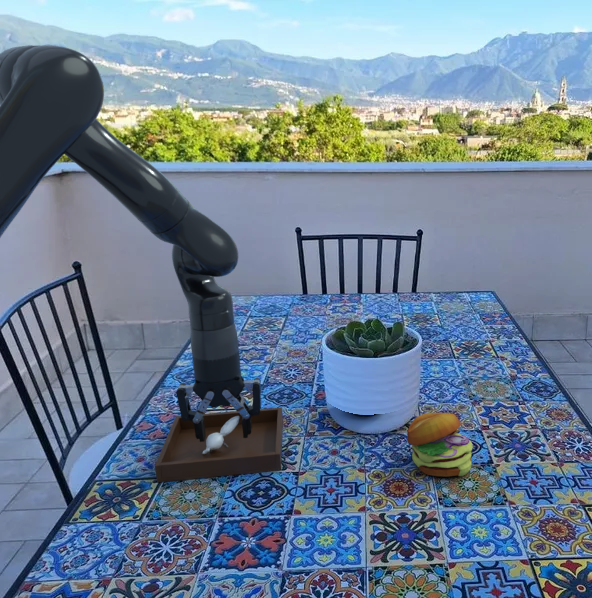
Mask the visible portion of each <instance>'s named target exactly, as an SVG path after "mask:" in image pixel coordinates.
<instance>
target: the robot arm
mask: <svg viewBox="0 0 592 598" xmlns="http://www.w3.org/2000/svg"><path fill="white" fill-rule="evenodd" d="M104 98H105V87H104V81H103V78H102V75H101V72H100V71H99V69H98V67H97V66H96V65H95V63H94V62H93V61H92V60H91V59H90V58H89V57H87V56H86V54H83V53H82V52H80V51H77V50H76V49H72V48H69V47H66V46H59V45H52V44H42V45H21V46H20V45H19V46H14V47H10V48H7V49H5V50H3V51H1V52H0V239H1V238H2V236H3V235H4V233H5V232H6V231H7V229H8V228H9V226H10V225H11V224H12V222H13V221H14V220H15V218H16V217H17V216H18V214H19V213H20V212H21V210H22V208H23V207H24V206H25V205H26V203H27V201H29V198H30V197H31V196H32V194H33V193H34V191H35V190H36V189H37V187H38V186H39V184H40V183H41V181H42V180H43V179H44V177H45V176H46V175H47V174H48V173H49V172H50V170H51V169H52V168H53V167H54V166H55V164H57V163H58V161H59V160H61V158H62V157H63V156H66V157H67V158H68V159H70V160H71V161H72V162H73V163H74V164H76V165H77V166H78V167H79V168H81V169H82V170H83V171H84V172H85V173H87V175H89V176H90V177H91V178H93V179H94V180H95V181H96V182H97V183H98V184H99V185H100V186H101V187H103V188H104V189H105V190H106V191H107V192H108V193H109V194H111V195H112V196H113V197H114V198H115V199H116V200H117V201H118V202H119V203H120V204H121V205H122V206H123V207H124V208H125V209H126V210H127V211H129V213H131V215H132V216H133V217H135V219H136V220H137V221H138V222H139V223H141V224H142V225H143V226H144V227H145V228H146V229H147V230H148V231H149V232H150V233H151V234H152V235H153V236H154V237H156V238H157V239H159V240H160V241H162V242H165V243H166V244H171V245H172V248H171V261H172V266H173V269H174V273H175V275H176V278H177V280H178V283H179V285H180V288H181V291H182V293H183V295H184V298H185V300H186V302H187V307H188V309H187V310H188V320H189V327H190V337H189V338H190V339H189V340H190V349H191V358H192V365H193V366H192V367H193V374H194V382H193V383H194V384H186V383H183V382H181V383H180V384H178V385H179V386H178V387H177V389H176V392H175V393H176V399H177V403H178V408H179V413H180V416H181V418H182V420H183V421H187V420H189V421H192V422H193V423H194V428H195V437H196V438H197V439H200V442H204V441H205V438H206V432H205V423H204V417H203V415H204V414H206V411H207V410H208V408H209V407H210V408H218V407H230V406H232V408H233V409H234V411H238V412H239V413H240V415H241V416H242V428H243V438H248V435H249V434H251V430H252V424H251V417H252V416H253V415H259V414H260V409H262V408H261V407H262V390H261V389H262V388H261V387H262V385H261V383H262V380H261V379H260V378H259V377H255V378H254V379H252V380H251V379H249V380H245V379H244V377H243V376H242V370H241V359H240V358H241V357H240V348H239V347H240V341H239V337H238V331H237V328H236V322H235V313H234V302H233V296H232V293H231V292H230V291H229V289H227V288H225V287H223V286H221V285H220V284H218V282H217V281H216V279H215V278H220V277H221V278H222V277H225V276H228V275H230V274H231V273H233V271H234V270H235V269H236V267H237V266H238V262H239V250H238V247H237V244H236V242H235V240H234V239H233V237H232V236H231V235H230V234H229V232H228V231H226V229H224V228H223V227H222V226H220V225H219V224H218V223H217V222H215V221H213V219H212V218H209V216H207V215H206V214H204V213H202V212H201V211H199V210H198V209H197V208H195V207H194V206H193V205H192V204H191V203H190V201H189V200H188V199H187V198H186V196H184V194H183V193H181V191H180V190H179V189H178V188H177V187H176V186H175V185H174V184H173V182H172V181H171V180H170V179H169V178H168V177H166V175H164V173H162V172H161V171H160V170H159V169H158V168H156V167H155V166H154V165H153V164H152V163H150V162H149V161H147V160H146V159H145V158H143V157H142V156H141V155H140V154H138V153H137V152H135V151H134V150H132V149H131V148H130V147H128V146H127V145H126V144H125V143H123V142H122V141H120V139H118V138H117V136H115V135H113V134H112V133H111V132H110V131H109V130H108V129H107V128H106V127H105V126H104V125H103V124H102V123H101V122H100V121H99V120H98V119H97V118H98V117H99V114H100V113H101V110H102V107H103V105H104V100H105V99H104ZM245 389H247V391H248V394H250V395H251V394H252V405H250V406H249V404H248V403H247V401H245V398H244V396H243V395H242V394H241V393H242V392H243V390H245ZM192 393H194V394H195V395H196V396H197V397H198V398H199V399H200V400H201V401H200V403H199V405H198V406H197V408H196V411H195V410H192V408H191V401H190V398H191V396H192Z"/></svg>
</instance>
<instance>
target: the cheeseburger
mask: <svg viewBox="0 0 592 598" xmlns="http://www.w3.org/2000/svg"><path fill="white" fill-rule="evenodd" d="M461 426H462V423H461V421H460V419H459V418H458V417H457V415H456V414H454V413H448V412H427V413H422V414H420V415H418V416H416V417H415V418H414V419H413V421H412V422H411V423H410V425H409V427H408V429H407V431H406V432H407V433H406V440H407V444H409V445H411V449H412V453H411V458H412V461H413V463H414V465H416V466H417V468H418V470H419V471H420V472H421V473H423V474H425V475H428V476H433V477H446V478H447V477H454V476H458V477H463V476H466V475H467V474H469V472H470V471H471V469H472V452H473V451H472V450H473V448H474V447H473V446H474V444H473V443H472V441H471V440H470V439H469V437H467V436H466V435H463V434H461V433H459V432H460V431H461Z"/></svg>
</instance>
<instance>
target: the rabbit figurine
mask: <svg viewBox="0 0 592 598" xmlns="http://www.w3.org/2000/svg"><path fill="white" fill-rule="evenodd" d="M239 419H240V417H239V416H235V417H233V418H231V419H230V420H228V421H227V422H226V423H225V424H224V425H223V427H222V428H221V431H220V433H213V434H210V435H209V436H208V437H207V440H206V446H207V447H206V450H204V451H203V453H202V454H206V453H207V452H209V450H217V449H219V448H220V447H221V446H222V444H223V441H224V438H223V437H224V436H226V435H227V434H229V433H230V432H232V431H233V430H234V428H235V427H236V426H237V424H238V422H239ZM224 445H226V446H227V447H228V445H227V444H225V443H224Z"/></svg>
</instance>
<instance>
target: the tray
mask: <svg viewBox="0 0 592 598" xmlns="http://www.w3.org/2000/svg"><path fill="white" fill-rule="evenodd" d="M235 416H239V417H240V419H239V422H238V424H237V426H236V427H235V428H234V430H233V431H232V432H230V433H229V434H227V435H226V436H224V437H223V438H224V441H223V444H222V446H221V447H220V448H219V449H217V450H209V452H207V453H206V454H202V453H203V451H204V450H206V447H207V446H206V440H207V437H208V436H209V435H210V434H213V433H220V431H221V428H222V427H223V425H224V424H225V423H226V422H227V421H228V420H230V419H231V418H233V417H235ZM203 417H204V423H205V432H206V438H205V441H204V442H200V439H197V438H196V437H195V428H194V423H193V422H192V421H189V420H187V421H183V420H182V418H181V415H176V416H174V419H173V422H172V424H171V425H170V429H169V431H168V434H167V436H166V438H165V441H164V444H163V445H162V447H161V450H160V452H159V455H158V456H157V459H156V462H155V465H154V469H155V470H154V471H155V476H156V477H155V478H156V483H157V484H158V483H168V482H178V481H187V480H188V481H189V480H196V479H207V478H216V477H217V478H218V477H227V476H236V475H237V476H239V475H247V474H257V473H258V474H259V473H267V472H268V473H269V472H276V471H277V472H278V471H282V462H283V461H282V459H283V435H284V412H283V407H281V406H280V407H268V408H260V414H259V415H253V416H252V417H251V424H252V430H251V434H249V435H248V438H243V428H242V416H241V415H240V413H239V412H238V411H236V410H234V411H233V410H232V411H223V412H208V413H204V415H203ZM224 443H225V444H227V445H228V447H227V446H226V445H224Z"/></svg>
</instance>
